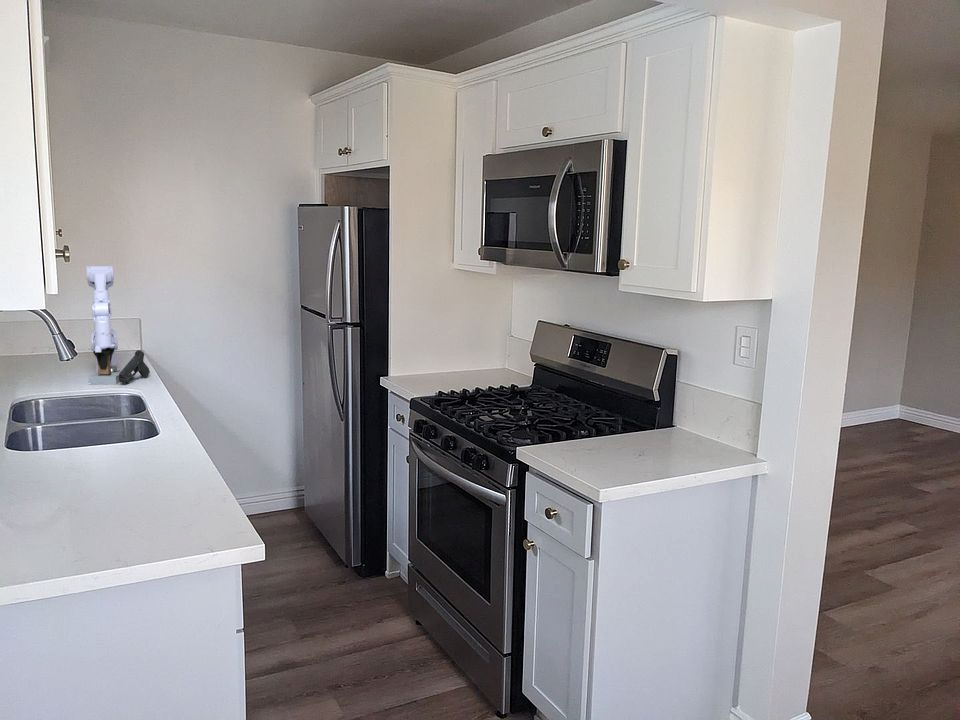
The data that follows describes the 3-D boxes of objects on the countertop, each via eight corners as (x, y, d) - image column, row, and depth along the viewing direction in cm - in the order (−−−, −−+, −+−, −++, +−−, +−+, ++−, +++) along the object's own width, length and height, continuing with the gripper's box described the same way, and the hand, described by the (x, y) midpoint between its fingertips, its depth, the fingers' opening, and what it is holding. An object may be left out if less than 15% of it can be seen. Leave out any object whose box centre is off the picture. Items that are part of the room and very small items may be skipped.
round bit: (107, 377, 303) (106, 365, 302) (119, 377, 304) (118, 365, 303) (104, 379, 299) (103, 367, 298) (116, 379, 299) (115, 367, 299)
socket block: (96, 380, 298) (95, 372, 297) (123, 379, 299) (122, 372, 299) (88, 384, 289) (87, 376, 288) (116, 384, 290) (115, 376, 290)
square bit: (101, 372, 295) (99, 355, 294) (111, 372, 295) (109, 354, 294) (98, 374, 291) (96, 356, 290) (108, 374, 292) (106, 356, 291)
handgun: (151, 372, 307) (142, 348, 300) (130, 398, 292) (121, 372, 286) (145, 372, 307) (137, 347, 300) (125, 398, 293) (116, 372, 286)
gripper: (108, 335, 285) (110, 371, 287) (119, 330, 299) (121, 364, 301) (88, 335, 283) (90, 371, 286) (100, 330, 297) (102, 364, 300)
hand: (105, 368), depth 293 cm, fingers closed on square bit, 4 cm apart
